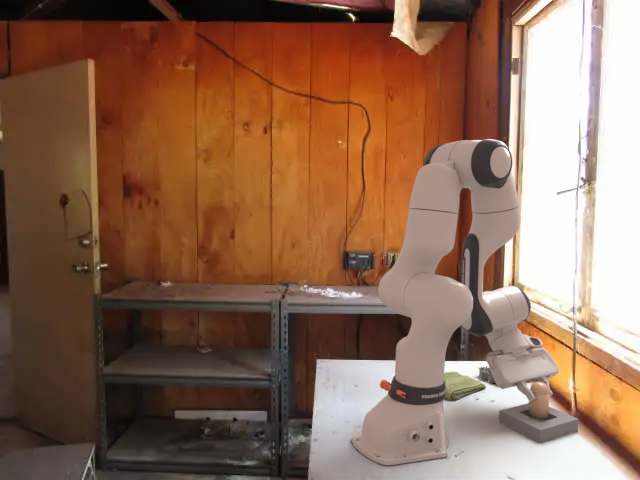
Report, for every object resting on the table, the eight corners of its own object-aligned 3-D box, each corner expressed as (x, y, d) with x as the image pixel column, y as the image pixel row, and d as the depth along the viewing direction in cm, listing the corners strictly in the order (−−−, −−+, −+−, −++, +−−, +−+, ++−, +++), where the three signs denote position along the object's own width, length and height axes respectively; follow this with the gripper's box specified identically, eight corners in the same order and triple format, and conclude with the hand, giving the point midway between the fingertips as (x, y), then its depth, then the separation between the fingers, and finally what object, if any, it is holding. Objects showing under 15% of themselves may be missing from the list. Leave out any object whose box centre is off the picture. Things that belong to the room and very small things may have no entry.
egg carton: (518, 385, 152) (519, 372, 152) (501, 389, 149) (502, 375, 148) (491, 374, 162) (492, 362, 161) (474, 377, 158) (475, 365, 158)
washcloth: (488, 390, 148) (488, 379, 148) (452, 404, 137) (452, 392, 136) (451, 377, 158) (452, 367, 158) (415, 389, 147) (416, 378, 147)
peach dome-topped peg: (540, 419, 120) (542, 386, 119) (525, 412, 124) (526, 380, 123) (552, 416, 122) (554, 383, 121) (536, 409, 126) (538, 378, 125)
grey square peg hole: (540, 442, 114) (540, 430, 114) (498, 422, 125) (499, 410, 125) (577, 430, 121) (578, 418, 121) (535, 412, 132) (536, 401, 131)
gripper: (490, 347, 123) (521, 399, 115) (544, 338, 132) (576, 385, 125) (476, 359, 127) (504, 410, 119) (529, 350, 137) (559, 396, 129)
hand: (541, 398), depth 122 cm, fingers closed on peach dome-topped peg, 4 cm apart
